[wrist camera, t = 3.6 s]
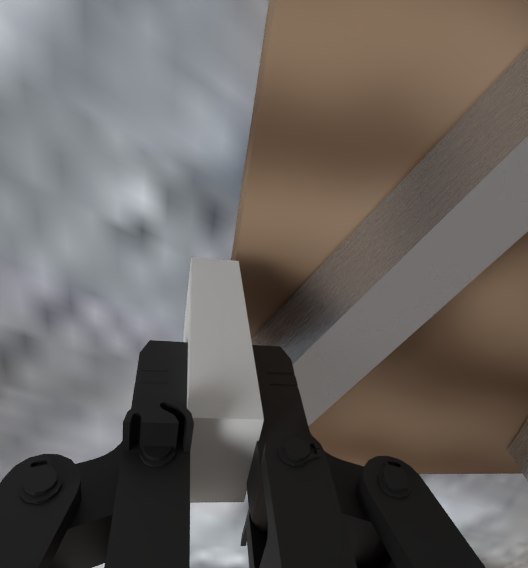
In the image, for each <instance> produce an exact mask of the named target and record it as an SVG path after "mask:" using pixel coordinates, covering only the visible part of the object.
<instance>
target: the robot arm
mask: <svg viewBox="0 0 528 568" xmlns="http://www.w3.org/2000/svg"><path fill="white" fill-rule="evenodd" d="M246 491H247V494H248V503H249V510H248V514H247V518H246V522H245V525H244V529H243V533H242V539H241V546H246V542H247V546H248V557H249V568H485V566H484V565H483V564H482V562H481V561H480V559H479V558H478V557H477V555H476V554H475V552H474V551H473V550H472V548H471V547H470V545H469V544H468V543H467V541H466V540H465V538H464V537H463V536H462V534H461V533H460V531H459V530H458V529H457V527H456V526H455V524H454V523H453V522H452V520H451V519H450V517H449V516H448V515H447V513H446V512H445V510H444V509H443V508H442V506H441V505H440V503H439V502H438V501H437V499H436V498H435V496H434V495H433V494H432V492H431V491H430V489H429V488H428V487H427V485H426V484H425V482H424V481H423V480H422V478H421V477H420V475H419V474H418V473H417V472H416V471H415V470H414V469H413V468H412V467H411V466H410V465H408V464H406V463H405V462H403V461H402V460H400V459H397V458H394V457H391V456H376V457H374V458H372V459H370V460H368V462H367V463H366V465H365V466H361V465H357V464H354V463H351V462H347V461H344V460H341V459H339V458H336V457H334V456H332V455H330V454H328V453H327V452H325V451H324V450H323V448H322V446H321V444H320V443H319V442H318V441H317V440H316V439H315V438H314V437H313V436H312V435H311V433H310V430H309V427H308V423H307V419H306V415H305V411H304V407H303V404H302V400H301V396H300V392H299V388H298V384H297V380H296V377H295V373H294V369H293V365H292V361H291V359H290V357H289V356H288V355H287V354H286V353H285V351H284V350H283V349H282V348H281V346H263V345H252V342H251V335H250V329H249V323H248V317H247V310H246V304H245V298H244V292H243V285H242V279H241V273H240V267H239V261H233V260H222V259H211V258H200V257H191V265H190V275H189V284H188V294H187V303H186V313H185V323H184V342H170V341H152V340H150V341H149V342H148V343H147V345H146V346H145V347H144V348H143V350H142V351H141V352H140V355H139V361H138V368H137V375H136V382H135V388H134V394H133V401H132V407H131V409H130V410H129V411H128V412H127V414H126V417H125V419H124V421H123V441H122V442H121V444H119V445H118V446H117V447H116V448H115V449H114V450H113V451H111V452H109V453H108V454H106V455H104V456H101V457H99V458H96V459H93V460H89V461H86V462H82V463H78V464H74V463H73V461H72V460H71V459H69V458H66V457H64V456H61V455H59V454H42V455H38V456H34V457H30V458H28V459H26V460H25V461H23V462H21V463H19V464H18V465H16V466H15V467H14V468H13V469H12V470H11V471H10V472H9V473H8V474H7V475H6V476H5V477H4V479H3V480H2V482H1V483H0V568H92V567H95V566H98V565H100V564H103V563H105V567H104V568H189V558H190V503H192V502H244V499H245V495H246Z"/></svg>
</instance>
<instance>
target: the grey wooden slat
mask: <svg viewBox="0 0 528 568" xmlns="http://www.w3.org/2000/svg"><path fill="white" fill-rule="evenodd" d="M527 232H528V49H527V50H526V51H525V52H524V53H523V54H522V55H521V56H520V57H519V58H518V59H517V60H516V61H515V62H514V63H513V64H512V66H511V67H510V68H509V69H508V70H507V71H506V72H505V73H504V74H503V75H502V76H501V77H500V78H499V79H498V80H497V81H496V82H495V83H494V84H493V86H492V87H491V88H490V89H489V90H488V91H487V92H486V93H485V94H484V95H483V96H482V97H481V98H480V99H479V100H478V101H477V102H476V103H475V104H474V105H473V107H472V108H471V109H470V110H469V111H468V112H467V113H466V114H465V115H464V116H463V117H462V118H461V119H460V120H459V121H458V122H457V123H456V124H455V125H454V127H453V128H452V129H451V130H450V131H449V132H448V133H447V134H446V135H445V136H444V137H443V138H442V139H441V140H440V141H439V142H438V143H437V144H436V145H435V147H434V148H433V149H432V150H431V151H430V152H429V153H428V154H427V155H426V156H425V157H424V158H423V159H422V160H421V161H420V162H419V163H418V164H417V165H416V166H415V168H414V169H413V170H412V171H411V172H410V173H409V174H408V175H407V176H406V177H405V178H404V179H403V180H402V181H401V182H400V183H399V184H398V185H397V186H396V188H395V189H394V190H393V191H392V192H391V193H390V194H389V195H388V196H387V197H386V198H385V199H384V200H383V201H382V202H381V203H380V204H379V205H378V206H377V207H376V209H375V210H374V211H373V212H372V213H371V214H370V215H369V216H368V217H367V218H366V219H365V220H364V221H363V222H362V223H361V224H360V225H359V226H358V227H357V229H356V230H355V231H354V232H353V233H352V234H351V235H350V236H349V237H348V238H347V239H346V240H345V241H344V242H343V243H342V244H341V245H340V246H339V247H338V249H337V250H336V251H335V252H334V253H333V254H332V255H331V256H330V257H329V258H328V259H327V260H326V261H325V262H324V263H323V264H322V265H321V266H320V267H319V268H318V270H317V271H316V272H315V273H314V274H313V275H312V276H311V277H310V278H309V279H308V280H307V281H306V282H305V283H304V284H303V285H302V286H301V287H300V288H299V290H298V291H297V292H296V293H295V294H294V295H293V296H292V297H291V298H290V299H289V300H288V301H287V302H286V303H285V304H284V305H283V306H282V307H281V308H280V310H279V311H278V312H277V313H276V314H275V315H274V316H273V317H272V318H271V319H270V320H269V321H268V322H267V323H266V324H265V325H264V326H263V327H262V328H261V329H260V331H259V332H258V333H257V334H256V335H255V336H254V337H253V338H252V339H251V342H252V345H263V346H281V348H282V349H283V350H284V351H285V353H286V354H287V355H288V356H289V357H290V359H291V361H292V365H293V369H294V373H295V377H296V380H297V384H298V388H299V392H300V396H301V400H302V404H303V407H304V411H305V415H306V419H307V423H308V426H309V425H310V424H312V423H313V422H314V421H315V420H316V419H317V418H318V417H319V416H321V415H322V414H323V413H324V412H325V411H326V410H327V409H328V408H330V407H331V406H332V405H333V404H334V403H335V402H336V401H337V400H339V399H340V398H341V397H342V396H343V395H344V394H345V393H346V392H348V391H349V390H350V389H351V388H352V387H353V386H354V385H355V384H357V383H358V382H359V381H360V380H361V379H362V378H363V377H364V376H366V375H367V374H368V373H369V372H370V371H371V370H372V369H373V368H375V367H376V366H377V365H378V364H379V363H380V362H381V361H382V360H384V359H385V358H386V357H387V356H388V355H389V354H390V353H391V352H393V351H394V350H395V349H396V348H397V347H398V346H399V345H400V344H402V343H403V342H404V341H405V340H406V339H407V338H408V337H409V336H411V335H412V334H413V333H414V332H415V331H416V330H417V329H419V328H420V327H421V326H422V325H423V324H424V323H425V322H426V321H428V320H429V319H430V318H431V317H432V316H433V315H434V314H435V313H437V312H438V311H439V310H440V309H441V308H442V307H443V306H444V305H446V304H447V303H448V302H449V301H450V300H451V299H452V298H453V297H455V296H456V295H457V294H458V293H459V292H460V291H461V290H462V289H464V288H465V287H466V286H467V285H468V284H469V283H470V282H471V281H473V280H474V279H475V278H476V277H477V276H478V275H479V274H480V273H482V272H483V271H484V270H485V269H486V268H487V267H488V266H489V265H491V264H492V263H493V262H494V261H495V260H496V259H497V258H498V257H500V256H501V255H502V254H503V253H504V252H505V251H506V250H507V249H509V248H510V247H511V246H512V245H513V244H514V243H515V242H516V241H518V240H519V239H520V238H521V237H522V236H523V235H524V234H525V233H527Z"/></svg>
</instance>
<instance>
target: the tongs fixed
mask: <svg viewBox="0 0 528 568" xmlns="http://www.w3.org/2000/svg"><path fill="white" fill-rule="evenodd" d="M507 451H508V452H509V454H510V455H511V457H512V458H513V460H514V461H515V463H516V464H517V466H518V467H519V468H520V470H521V471H522V473H523V474H524V476H525V477H526V479H527V480H528V419H527V420H526V422H525V423H524V425H523V426H522V428H521V430H520V431H519V433H518V434H517V436H516V437H515V439H514V440H513V442H512V443H511V445H510V447H509V448H508V450H507Z"/></svg>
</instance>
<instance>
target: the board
mask: <svg viewBox="0 0 528 568" xmlns="http://www.w3.org/2000/svg"><path fill="white" fill-rule="evenodd" d="M527 49H528V0H269V6H268V13H267V19H266V26H265V33H264V40H263V47H262V53H261V60H260V67H259V74H258V81H257V88H256V94H255V101H254V108H253V115H252V122H251V128H250V135H249V142H248V149H247V156H246V162H245V169H244V176H243V183H242V190H241V196H240V203H239V210H238V217H237V224H236V230H235V237H234V244H233V251H232V258H231V260H233V261H239V267H240V273H241V279H242V285H243V292H244V298H245V304H246V310H247V317H248V323H249V329H250V335H251V339H252V338H253V337H254V336H255V335H256V334H257V333H258V332H259V331H260V329H261V328H262V327H263V326H264V325H265V324H266V323H267V322H268V321H269V320H270V319H271V318H272V317H273V316H274V315H275V314H276V313H277V312H278V311H279V310H280V308H281V307H282V306H283V305H284V304H285V303H286V302H287V301H288V300H289V299H290V298H291V297H292V296H293V295H294V294H295V293H296V292H297V291H298V290H299V288H300V287H301V286H302V285H303V284H304V283H305V282H306V281H307V280H308V279H309V278H310V277H311V276H312V275H313V274H314V273H315V272H316V271H317V270H318V268H319V267H320V266H321V265H322V264H323V263H324V262H325V261H326V260H327V259H328V258H329V257H330V256H331V255H332V254H333V253H334V252H335V251H336V250H337V249H338V247H339V246H340V245H341V244H342V243H343V242H344V241H345V240H346V239H347V238H348V237H349V236H350V235H351V234H352V233H353V232H354V231H355V230H356V229H357V227H358V226H359V225H360V224H361V223H362V222H363V221H364V220H365V219H366V218H367V217H368V216H369V215H370V214H371V213H372V212H373V211H374V210H375V209H376V207H377V206H378V205H379V204H380V203H381V202H382V201H383V200H384V199H385V198H386V197H387V196H388V195H389V194H390V193H391V192H392V191H393V190H394V189H395V188H396V186H397V185H398V184H399V183H400V182H401V181H402V180H403V179H404V178H405V177H406V176H407V175H408V174H409V173H410V172H411V171H412V170H413V169H414V168H415V166H416V165H417V164H418V163H419V162H420V161H421V160H422V159H423V158H424V157H425V156H426V155H427V154H428V153H429V152H430V151H431V150H432V149H433V148H434V147H435V145H436V144H437V143H438V142H439V141H440V140H441V139H442V138H443V137H444V136H445V135H446V134H447V133H448V132H449V131H450V130H451V129H452V128H453V127H454V125H455V124H456V123H457V122H458V121H459V120H460V119H461V118H462V117H463V116H464V115H465V114H466V113H467V112H468V111H469V110H470V109H471V108H472V107H473V105H474V104H475V103H476V102H477V101H478V100H479V99H480V98H481V97H482V96H483V95H484V94H485V93H486V92H487V91H488V90H489V89H490V88H491V87H492V86H493V84H494V83H495V82H496V81H497V80H498V79H499V78H500V77H501V76H502V75H503V74H504V73H505V72H506V71H507V70H508V69H509V68H510V67H511V66H512V64H513V63H514V62H515V61H516V60H517V59H518V58H519V57H520V56H521V55H522V54H523V53H524V52H525V51H526V50H527ZM527 419H528V232H527V233H525V234H524V235H523V236H522V237H521V238H520V239H519V240H518V241H516V242H515V243H514V244H513V245H512V246H511V247H510V248H509V249H507V250H506V251H505V252H504V253H503V254H502V255H501V256H500V257H498V258H497V259H496V260H495V261H494V262H493V263H492V264H491V265H489V266H488V267H487V268H486V269H485V270H484V271H483V272H482V273H480V274H479V275H478V276H477V277H476V278H475V279H474V280H473V281H471V282H470V283H469V284H468V285H467V286H466V287H465V288H464V289H462V290H461V291H460V292H459V293H458V294H457V295H456V296H455V297H453V298H452V299H451V300H450V301H449V302H448V303H447V304H446V305H444V306H443V307H442V308H441V309H440V310H439V311H438V312H437V313H435V314H434V315H433V316H432V317H431V318H430V319H429V320H428V321H426V322H425V323H424V324H423V325H422V326H421V327H420V328H419V329H417V330H416V331H415V332H414V333H413V334H412V335H411V336H409V337H408V338H407V339H406V340H405V341H404V342H403V343H402V344H400V345H399V346H398V347H397V348H396V349H395V350H394V351H393V352H391V353H390V354H389V355H388V356H387V357H386V358H385V359H384V360H382V361H381V362H380V363H379V364H378V365H377V366H376V367H375V368H373V369H372V370H371V371H370V372H369V373H368V374H367V375H366V376H364V377H363V378H362V379H361V380H360V381H359V382H358V383H357V384H355V385H354V386H353V387H352V388H351V389H350V390H349V391H348V392H346V393H345V394H344V395H343V396H342V397H341V398H340V399H339V400H337V401H336V402H335V403H334V404H333V405H332V406H331V407H330V408H328V409H327V410H326V411H325V412H324V413H323V414H322V415H321V416H319V417H318V418H317V419H316V420H315V421H314V422H313V423H312V424H310V425H309V426H308V427H309V430H310V433H311V435H312V436H313V437H314V438H315V439H316V440H317V441H318V442H319V443H320V444H321V446H322V448H323V450H324V451H325V452H327V453H328V454H330V455H332V456H334V457H336V458H339V459H341V460H344V461H347V462H351V463H354V464H357V465H361V466H365V465H366V463H367V462H368V460H370V459H372V458H374V457H376V456H391V457H394V458H397V459H400V460H402V461H403V462H405V463H406V464H408V465H410V466H411V467H412V468H413V469H414V470H415V471H416V472H417V473H418V474H492V473H522V471H521V470H520V468H519V467H518V466H517V464H516V463H515V461H514V460H513V458H512V457H511V455H510V454H509V452H508V451H507V450H508V448H509V447H510V445H511V443H512V442H513V440H514V439H515V437H516V436H517V434H518V433H519V431H520V430H521V428H522V426H523V425H524V423H525V422H526V420H527Z"/></svg>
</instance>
